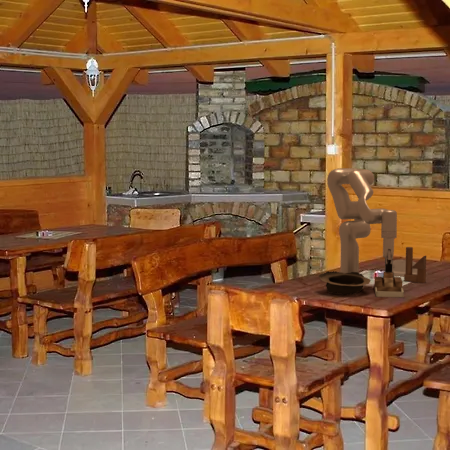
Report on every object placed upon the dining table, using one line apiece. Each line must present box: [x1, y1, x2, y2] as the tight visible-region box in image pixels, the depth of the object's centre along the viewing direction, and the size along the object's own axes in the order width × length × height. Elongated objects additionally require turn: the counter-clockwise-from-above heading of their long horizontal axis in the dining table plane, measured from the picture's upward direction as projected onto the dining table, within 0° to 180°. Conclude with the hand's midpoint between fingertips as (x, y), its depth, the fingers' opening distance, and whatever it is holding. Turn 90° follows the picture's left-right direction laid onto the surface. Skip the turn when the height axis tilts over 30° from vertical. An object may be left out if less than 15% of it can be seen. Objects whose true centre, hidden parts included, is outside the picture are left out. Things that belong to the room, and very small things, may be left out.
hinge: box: [392, 259, 417, 278], centre depth 454 cm, size 17×5×10 cm, turn 60°
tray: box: [374, 287, 405, 298], centre depth 399 cm, size 13×12×2 cm
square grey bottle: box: [382, 257, 395, 280], centre depth 413 cm, size 5×4×14 cm
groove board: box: [374, 276, 403, 292], centre depth 411 cm, size 13×13×6 cm
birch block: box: [384, 278, 393, 287], centre depth 407 cm, size 4×4×4 cm
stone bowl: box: [318, 270, 371, 296], centre depth 406 cm, size 25×25×9 cm
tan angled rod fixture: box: [403, 246, 427, 284], centre depth 434 cm, size 4×11×18 cm, turn 55°
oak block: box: [384, 272, 393, 278], centre depth 411 cm, size 4×4×6 cm
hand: (388, 270), depth 414 cm, fingers closed on square grey bottle, 3 cm apart
